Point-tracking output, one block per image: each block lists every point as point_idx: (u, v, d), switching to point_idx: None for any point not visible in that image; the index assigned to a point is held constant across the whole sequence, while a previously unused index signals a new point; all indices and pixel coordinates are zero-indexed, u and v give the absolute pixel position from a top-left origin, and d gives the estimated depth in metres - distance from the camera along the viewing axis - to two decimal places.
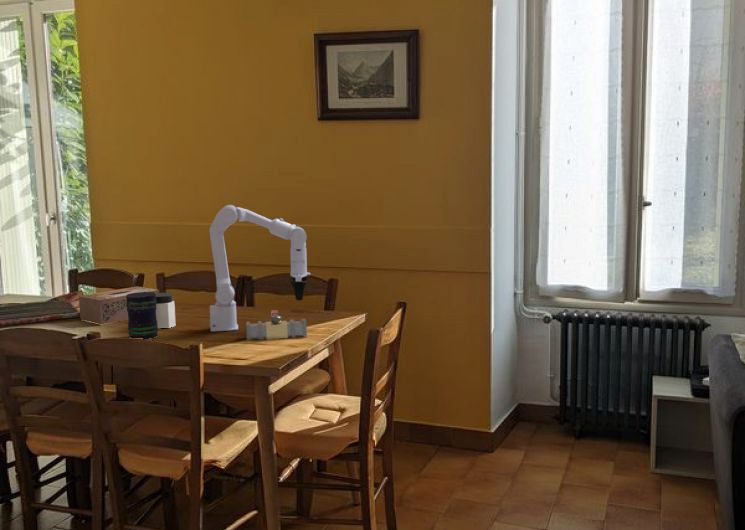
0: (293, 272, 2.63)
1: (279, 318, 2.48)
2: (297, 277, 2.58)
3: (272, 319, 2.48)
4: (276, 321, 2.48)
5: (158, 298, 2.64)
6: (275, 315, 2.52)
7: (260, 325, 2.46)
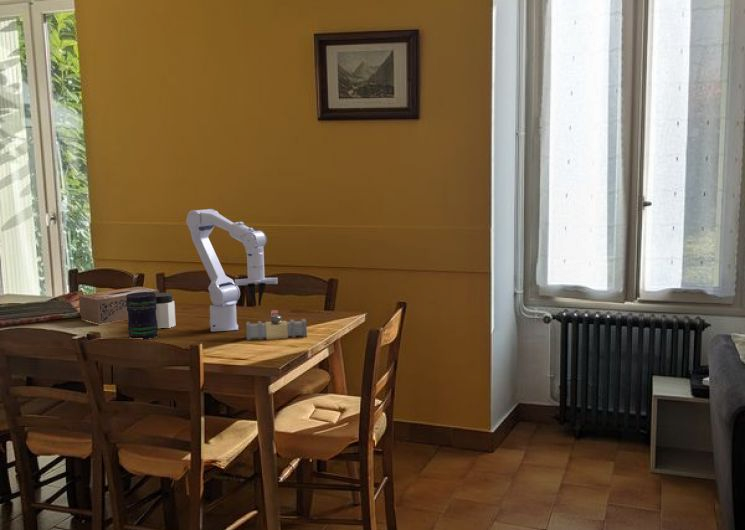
0: None
1: (279, 318, 2.48)
2: None
3: (272, 319, 2.48)
4: (276, 321, 2.48)
5: (158, 298, 2.64)
6: (275, 315, 2.52)
7: (260, 325, 2.46)
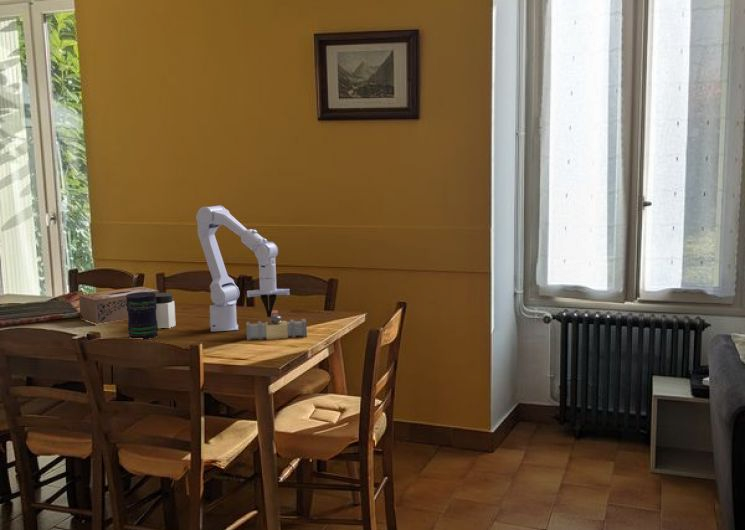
0: None
1: (279, 318, 2.48)
2: (247, 292, 2.54)
3: (272, 319, 2.48)
4: (276, 321, 2.48)
5: (158, 298, 2.64)
6: (275, 315, 2.52)
7: (260, 325, 2.46)
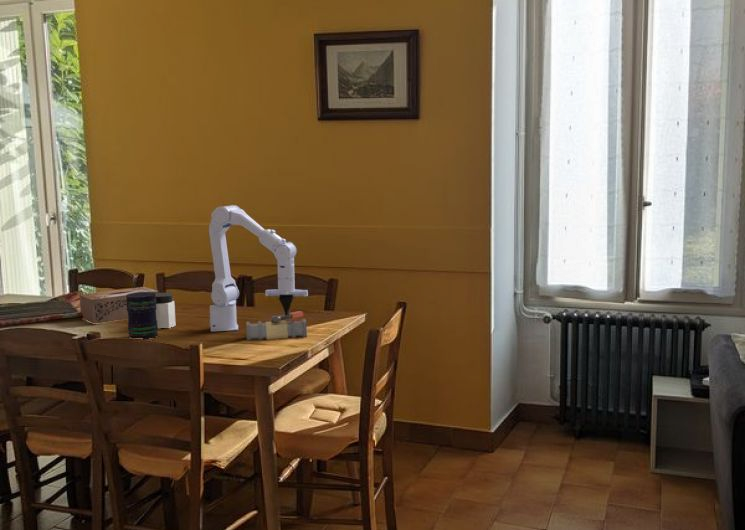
0: None
1: (275, 318, 2.48)
2: None
3: None
4: (272, 321, 2.48)
5: (158, 298, 2.64)
6: (282, 315, 2.52)
7: (260, 325, 2.46)
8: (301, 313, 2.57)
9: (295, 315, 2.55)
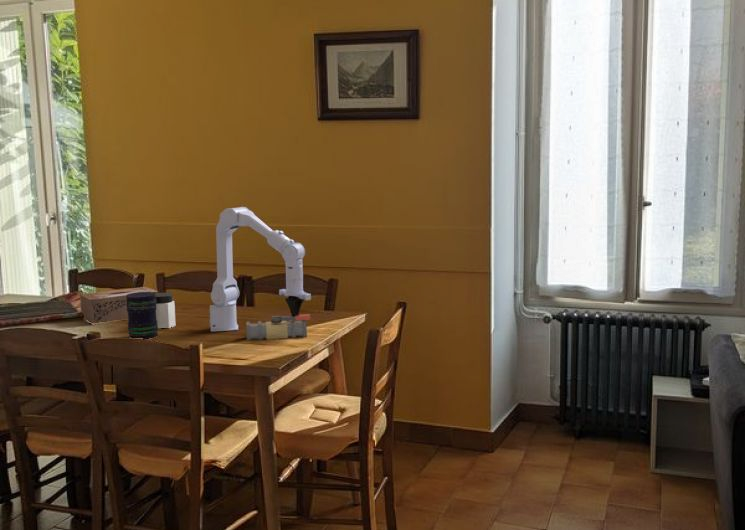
0: None
1: (272, 318, 2.48)
2: None
3: None
4: None
5: (158, 298, 2.64)
6: (284, 316, 2.50)
7: (260, 325, 2.46)
8: (307, 316, 2.51)
9: (299, 318, 2.50)
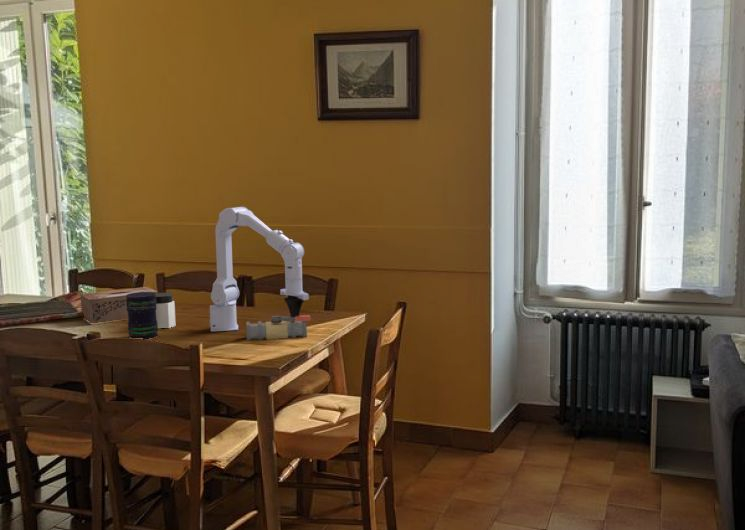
0: None
1: (271, 318, 2.48)
2: None
3: None
4: None
5: (158, 298, 2.64)
6: (284, 316, 2.50)
7: (260, 325, 2.46)
8: (307, 317, 2.49)
9: (299, 318, 2.49)
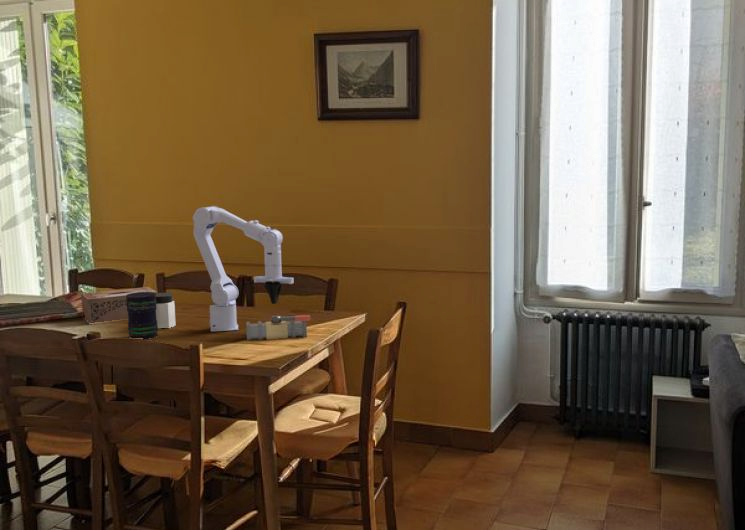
0: None
1: (271, 318, 2.48)
2: None
3: None
4: None
5: (158, 298, 2.64)
6: (284, 316, 2.50)
7: (260, 325, 2.46)
8: (307, 317, 2.49)
9: (299, 318, 2.49)
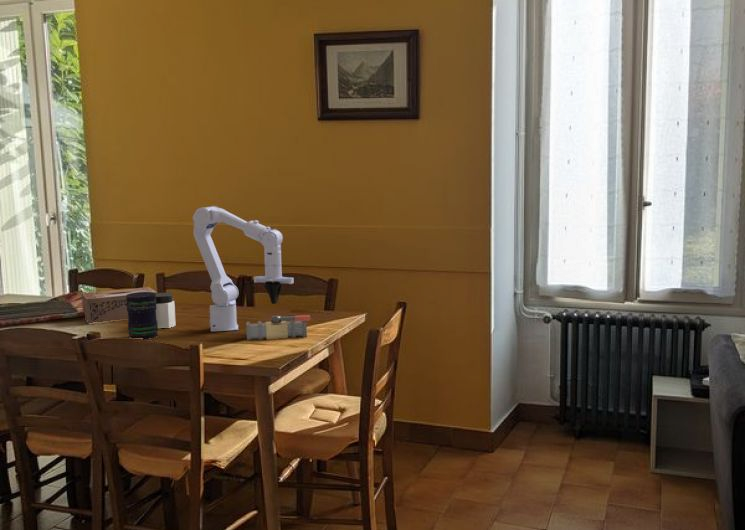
0: None
1: (271, 318, 2.48)
2: None
3: None
4: None
5: (158, 298, 2.64)
6: (284, 316, 2.50)
7: (260, 325, 2.46)
8: (307, 317, 2.49)
9: (299, 318, 2.49)
